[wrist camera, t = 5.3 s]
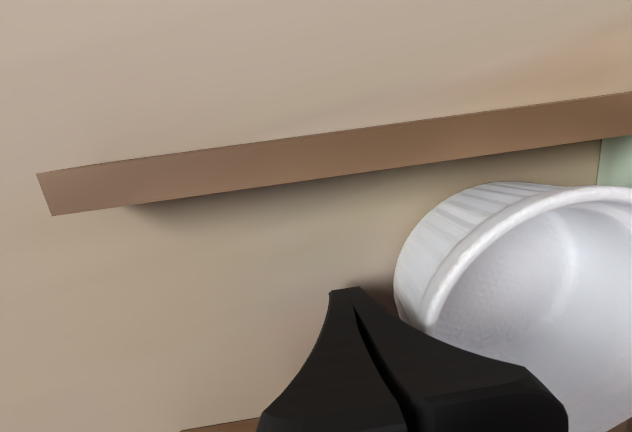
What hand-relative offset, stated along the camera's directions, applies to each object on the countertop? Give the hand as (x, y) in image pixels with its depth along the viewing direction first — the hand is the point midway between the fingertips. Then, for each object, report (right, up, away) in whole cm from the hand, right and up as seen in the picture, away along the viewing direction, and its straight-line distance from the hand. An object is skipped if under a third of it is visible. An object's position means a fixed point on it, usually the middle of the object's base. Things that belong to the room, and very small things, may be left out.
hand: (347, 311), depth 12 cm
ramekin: (+6, +1, +1) cm, 6 cm away
